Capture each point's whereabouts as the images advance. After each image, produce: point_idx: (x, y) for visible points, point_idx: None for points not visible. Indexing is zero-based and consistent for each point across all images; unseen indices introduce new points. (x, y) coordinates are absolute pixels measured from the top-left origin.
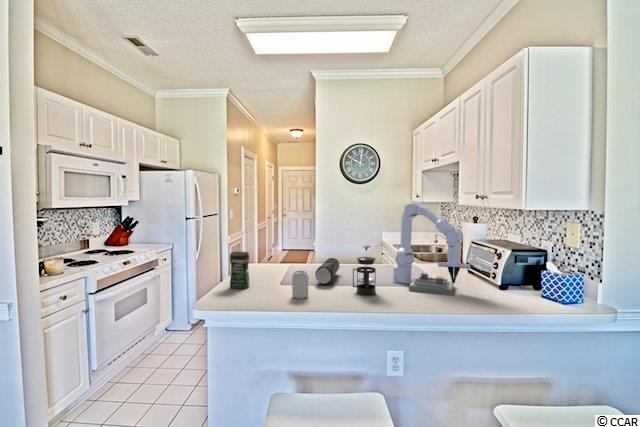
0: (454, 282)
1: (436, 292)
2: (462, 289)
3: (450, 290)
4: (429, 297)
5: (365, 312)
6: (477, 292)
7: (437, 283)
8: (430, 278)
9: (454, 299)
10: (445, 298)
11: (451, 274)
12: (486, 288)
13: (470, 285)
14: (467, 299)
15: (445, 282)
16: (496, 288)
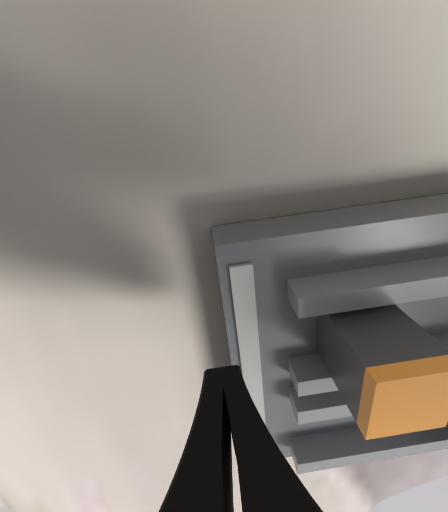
0: (209, 373)
1: (356, 209)
2: (175, 408)
3: (230, 241)
4: (429, 7)
5: None
6: (62, 395)
7: (391, 314)
8: (430, 439)
9: (155, 79)
10: (253, 68)
11: (271, 484)
12: (53, 483)
13: (154, 488)
14: (40, 159)
15: (307, 391)
16: (5, 505)
